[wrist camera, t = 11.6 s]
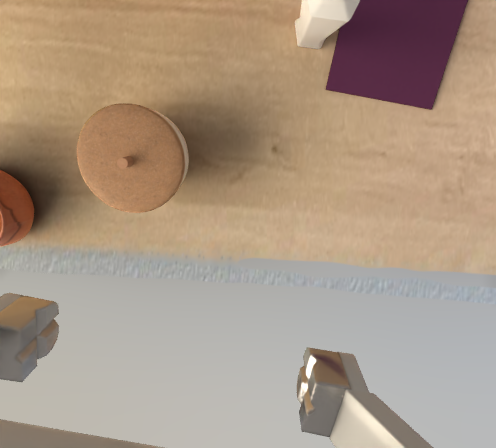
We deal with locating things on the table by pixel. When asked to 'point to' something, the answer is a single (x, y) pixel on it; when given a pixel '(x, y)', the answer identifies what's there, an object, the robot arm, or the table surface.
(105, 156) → the trinket box
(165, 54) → the table surface
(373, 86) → the cloth
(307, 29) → the white faceted vase
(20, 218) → the potted flower
